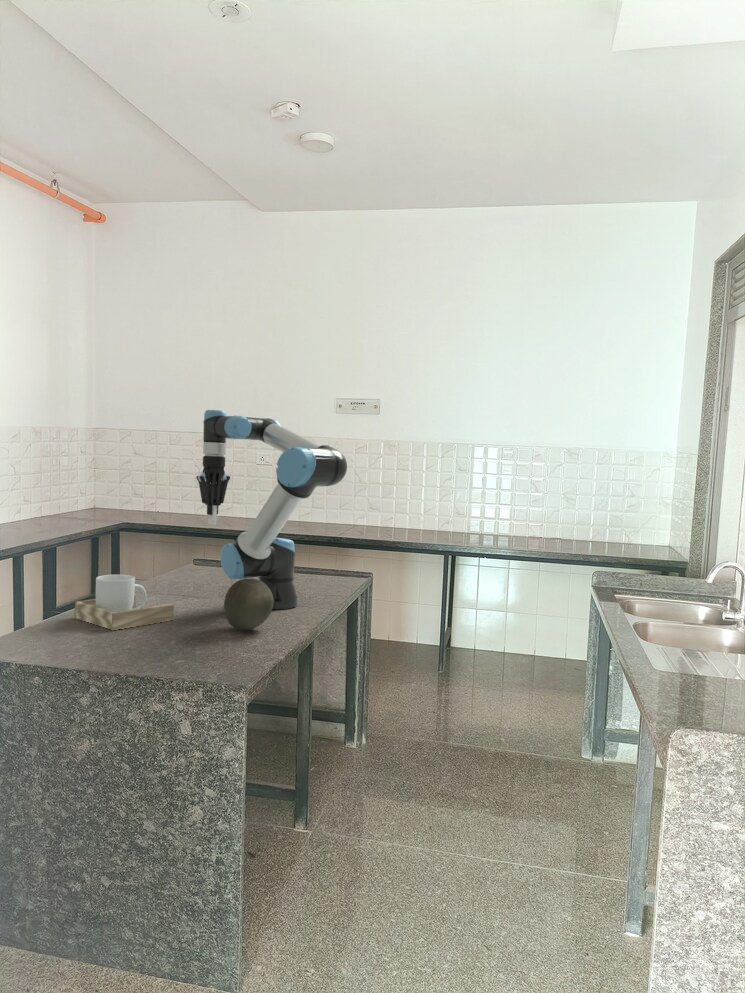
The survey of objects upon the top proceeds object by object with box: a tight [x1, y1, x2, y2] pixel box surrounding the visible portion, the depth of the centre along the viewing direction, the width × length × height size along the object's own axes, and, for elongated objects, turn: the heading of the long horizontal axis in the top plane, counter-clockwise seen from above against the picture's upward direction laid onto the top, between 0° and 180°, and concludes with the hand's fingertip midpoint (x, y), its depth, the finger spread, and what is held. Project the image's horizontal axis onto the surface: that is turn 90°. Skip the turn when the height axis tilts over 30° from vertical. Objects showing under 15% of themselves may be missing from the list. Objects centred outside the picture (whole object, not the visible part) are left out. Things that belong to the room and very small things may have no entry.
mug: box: [95, 574, 147, 613], centre depth 219 cm, size 15×11×13 cm
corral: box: [74, 593, 175, 631], centre depth 220 cm, size 21×20×5 cm
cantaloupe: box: [223, 577, 274, 631], centre depth 214 cm, size 14×14×15 cm
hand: (212, 524), depth 251 cm, fingers closed
